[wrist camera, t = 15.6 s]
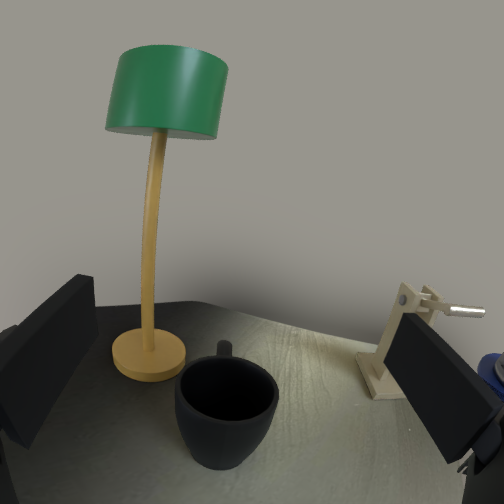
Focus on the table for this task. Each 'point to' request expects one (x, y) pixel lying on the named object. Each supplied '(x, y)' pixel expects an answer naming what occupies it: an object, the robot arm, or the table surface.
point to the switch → (449, 308)
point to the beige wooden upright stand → (372, 363)
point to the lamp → (161, 170)
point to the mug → (224, 407)
